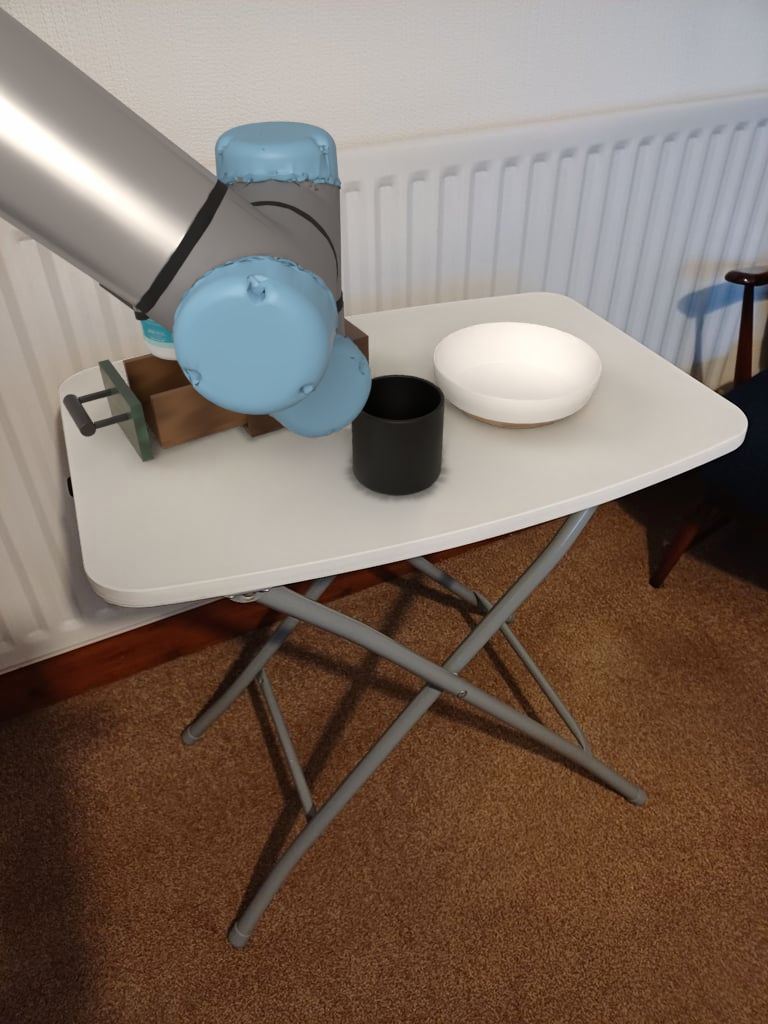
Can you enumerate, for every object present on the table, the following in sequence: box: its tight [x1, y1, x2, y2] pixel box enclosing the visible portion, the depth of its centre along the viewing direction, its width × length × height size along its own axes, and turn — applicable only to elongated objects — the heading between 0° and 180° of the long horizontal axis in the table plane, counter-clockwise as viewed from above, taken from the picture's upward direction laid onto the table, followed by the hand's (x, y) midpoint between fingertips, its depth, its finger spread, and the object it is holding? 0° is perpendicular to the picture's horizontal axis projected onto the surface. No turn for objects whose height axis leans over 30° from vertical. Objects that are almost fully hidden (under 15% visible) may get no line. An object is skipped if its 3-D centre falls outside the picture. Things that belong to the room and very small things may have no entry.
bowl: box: [432, 321, 603, 429], centre depth 93 cm, size 20×20×6 cm
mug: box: [350, 374, 446, 496], centre depth 82 cm, size 9×12×9 cm
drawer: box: [62, 352, 248, 462], centre depth 87 cm, size 20×11×7 cm, turn 122°
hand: (148, 232), depth 78 cm, fingers closed on pill bottle, 7 cm apart
